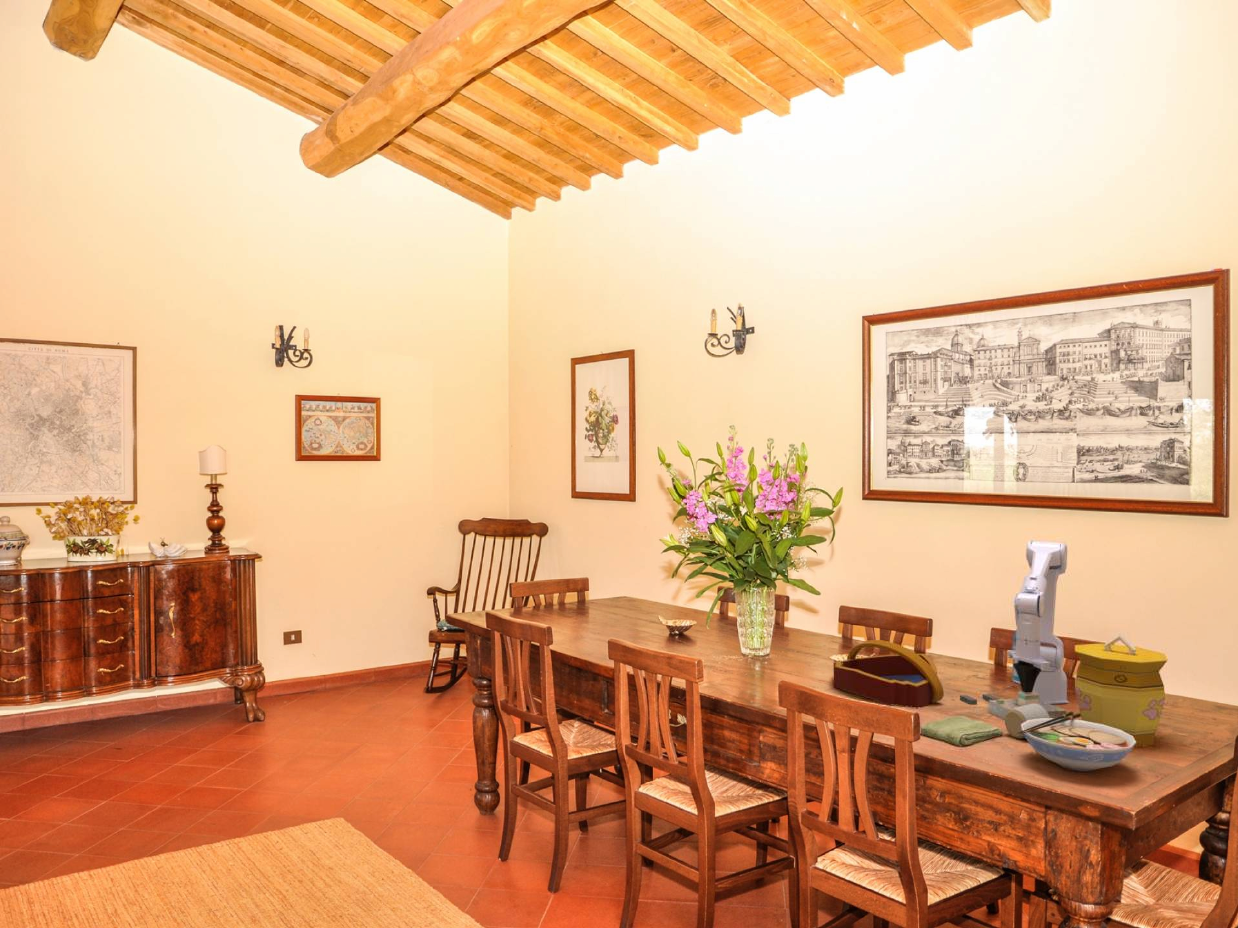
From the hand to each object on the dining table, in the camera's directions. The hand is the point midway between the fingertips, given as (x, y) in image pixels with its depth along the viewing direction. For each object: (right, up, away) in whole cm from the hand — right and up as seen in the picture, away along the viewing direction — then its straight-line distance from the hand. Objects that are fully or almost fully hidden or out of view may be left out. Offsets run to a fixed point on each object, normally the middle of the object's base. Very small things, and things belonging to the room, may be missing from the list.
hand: (1027, 691), depth 241 cm
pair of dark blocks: (-6, -6, +15) cm, 18 cm away
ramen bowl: (-5, -8, -37) cm, 38 cm away
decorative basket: (-28, -6, +25) cm, 38 cm away
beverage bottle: (+16, -7, +37) cm, 41 cm away
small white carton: (0, -7, 0) cm, 7 cm away
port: (0, -7, 0) cm, 7 cm away
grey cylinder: (-7, -7, -17) cm, 20 cm away
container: (+15, -7, -15) cm, 23 cm away
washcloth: (-23, -7, -15) cm, 29 cm away
